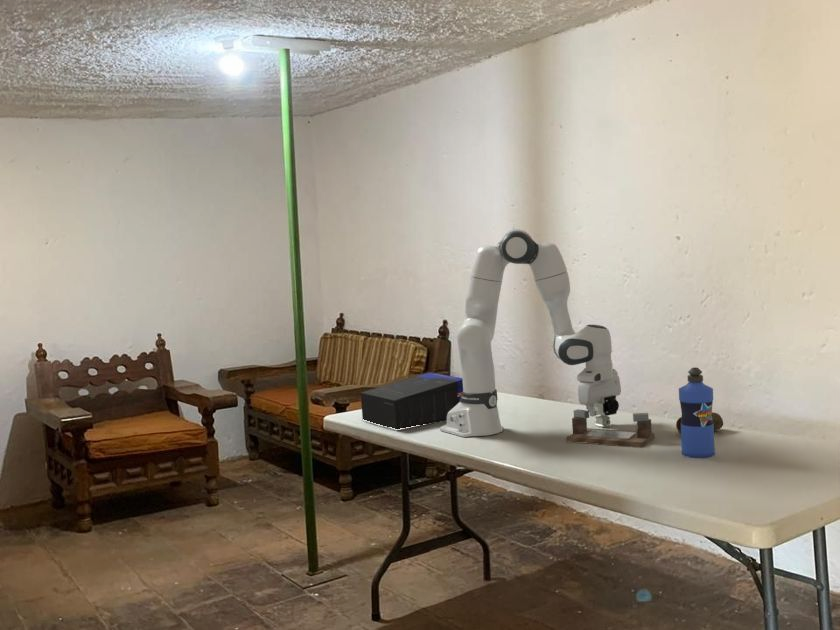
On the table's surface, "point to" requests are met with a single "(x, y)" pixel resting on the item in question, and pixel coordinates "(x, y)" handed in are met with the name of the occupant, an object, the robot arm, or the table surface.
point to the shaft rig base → (638, 440)
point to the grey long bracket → (611, 434)
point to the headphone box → (412, 401)
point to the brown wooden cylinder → (716, 421)
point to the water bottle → (696, 417)
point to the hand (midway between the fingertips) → (601, 413)
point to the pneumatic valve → (605, 409)
